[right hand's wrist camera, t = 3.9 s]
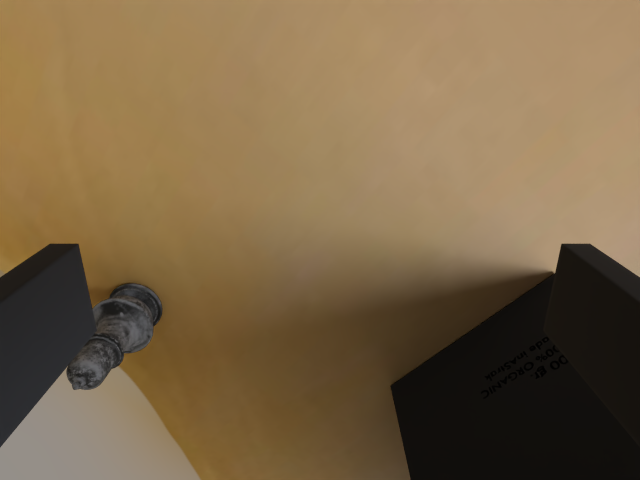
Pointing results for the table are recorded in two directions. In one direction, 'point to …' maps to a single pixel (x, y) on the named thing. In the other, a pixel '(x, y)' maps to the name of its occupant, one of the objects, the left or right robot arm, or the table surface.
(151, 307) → the dark grey chess piece
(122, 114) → the table surface
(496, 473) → the cardboard box
